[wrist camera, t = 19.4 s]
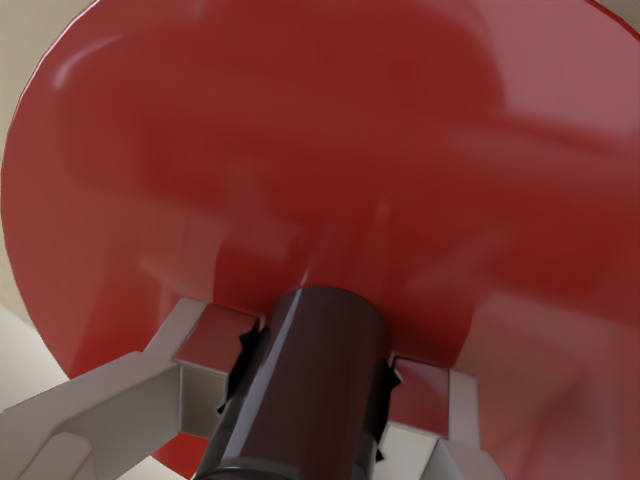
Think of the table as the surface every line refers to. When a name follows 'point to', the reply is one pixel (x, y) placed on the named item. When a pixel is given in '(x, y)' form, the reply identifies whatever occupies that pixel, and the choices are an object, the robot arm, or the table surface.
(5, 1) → the table surface
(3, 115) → the table surface
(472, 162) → the lid
